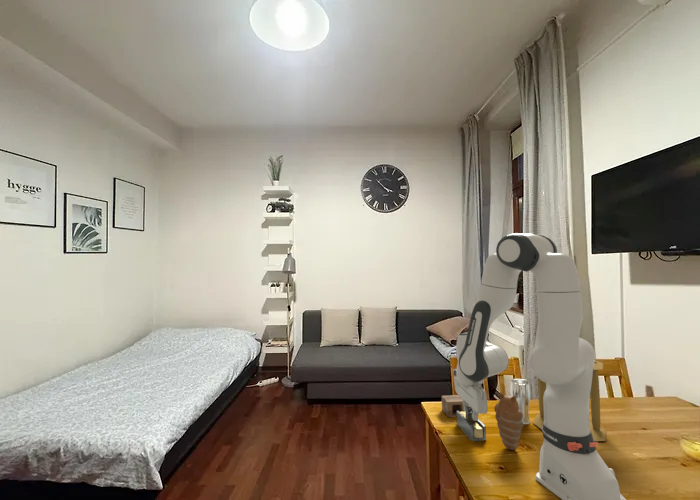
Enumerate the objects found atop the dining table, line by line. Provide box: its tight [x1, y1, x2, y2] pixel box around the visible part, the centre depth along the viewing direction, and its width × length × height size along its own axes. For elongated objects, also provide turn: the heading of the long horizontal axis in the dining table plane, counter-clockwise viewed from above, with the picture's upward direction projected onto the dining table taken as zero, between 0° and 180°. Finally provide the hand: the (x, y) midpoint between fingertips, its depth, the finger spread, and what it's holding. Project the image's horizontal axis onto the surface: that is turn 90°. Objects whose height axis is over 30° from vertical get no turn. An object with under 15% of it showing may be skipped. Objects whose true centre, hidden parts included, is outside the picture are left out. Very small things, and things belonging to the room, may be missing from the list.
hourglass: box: [532, 359, 607, 442], centre depth 127 cm, size 24×22×25 cm
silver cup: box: [509, 378, 531, 425], centre depth 133 cm, size 7×7×15 cm
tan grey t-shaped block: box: [460, 406, 483, 438], centre depth 125 cm, size 14×3×8 cm, turn 4°
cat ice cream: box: [493, 391, 524, 451], centre depth 113 cm, size 9×8×18 cm
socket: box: [441, 394, 464, 418], centre depth 140 cm, size 6×8×6 cm
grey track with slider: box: [456, 411, 487, 442], centre depth 124 cm, size 13×5×5 cm, turn 4°
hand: (470, 415), depth 124 cm, fingers open, 5 cm apart
